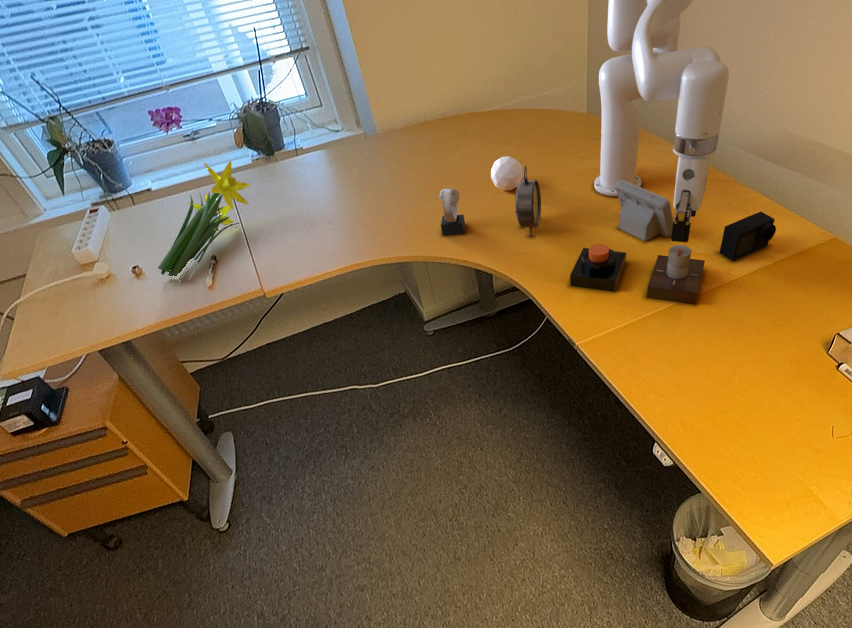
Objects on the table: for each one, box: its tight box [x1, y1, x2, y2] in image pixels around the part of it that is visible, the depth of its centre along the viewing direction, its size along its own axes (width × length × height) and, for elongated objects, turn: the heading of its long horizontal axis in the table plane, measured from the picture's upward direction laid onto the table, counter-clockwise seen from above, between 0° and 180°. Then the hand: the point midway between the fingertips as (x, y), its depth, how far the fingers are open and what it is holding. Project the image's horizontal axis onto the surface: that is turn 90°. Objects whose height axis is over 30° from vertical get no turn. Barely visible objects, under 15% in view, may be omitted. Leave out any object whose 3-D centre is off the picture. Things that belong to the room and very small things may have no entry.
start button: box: [588, 243, 610, 263], centre depth 126 cm, size 4×4×2 cm
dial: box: [666, 244, 692, 279], centre depth 121 cm, size 4×4×6 cm
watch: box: [438, 187, 466, 237], centre depth 145 cm, size 6×8×11 cm
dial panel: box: [646, 254, 706, 305], centre depth 124 cm, size 12×10×3 cm
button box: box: [569, 247, 627, 293], centre depth 128 cm, size 11×10×5 cm
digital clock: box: [616, 180, 674, 242], centre depth 137 cm, size 16×9×11 cm, turn 26°
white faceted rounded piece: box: [490, 155, 524, 191], centre depth 160 cm, size 9×9×12 cm
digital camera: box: [719, 211, 777, 262], centre depth 128 cm, size 10×5×7 cm, turn 117°
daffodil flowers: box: [157, 160, 251, 276], centre depth 151 cm, size 17×15×35 cm
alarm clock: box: [514, 165, 542, 238], centre depth 141 cm, size 11×5×16 cm, turn 168°
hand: (683, 228), depth 115 cm, fingers open, 9 cm apart
